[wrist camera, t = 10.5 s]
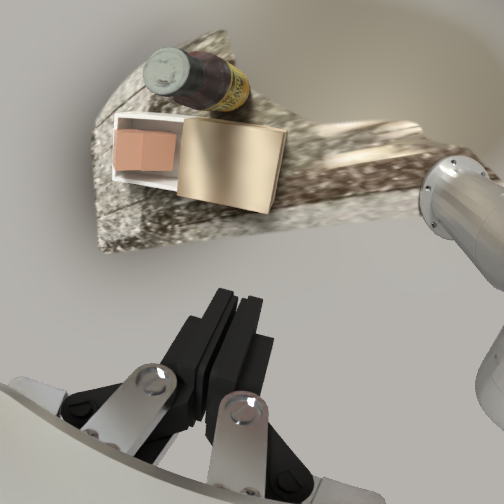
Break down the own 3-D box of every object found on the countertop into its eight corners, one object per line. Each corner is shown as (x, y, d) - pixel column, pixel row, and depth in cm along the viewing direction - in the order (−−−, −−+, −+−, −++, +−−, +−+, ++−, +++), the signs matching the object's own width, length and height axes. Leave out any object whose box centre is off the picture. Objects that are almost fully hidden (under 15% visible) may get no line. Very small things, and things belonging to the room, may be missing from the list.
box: (201, 116, 39) (188, 118, 36) (193, 184, 44) (181, 192, 40) (131, 111, 41) (114, 113, 37) (127, 173, 45) (112, 180, 41)
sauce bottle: (231, 120, 39) (164, 133, 22) (198, 92, 38) (113, 89, 20) (263, 85, 36) (218, 65, 19) (228, 57, 35) (160, 24, 18)
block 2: (143, 134, 36) (139, 130, 38) (140, 171, 38) (136, 164, 41) (176, 135, 38) (170, 131, 41) (172, 170, 40) (166, 164, 43)
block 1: (143, 133, 36) (117, 133, 34) (140, 169, 38) (115, 170, 36) (138, 129, 39) (114, 129, 37) (135, 162, 42) (112, 163, 40)
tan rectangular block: (287, 130, 38) (282, 133, 33) (274, 200, 43) (267, 214, 38) (201, 116, 39) (184, 118, 34) (193, 184, 44) (176, 195, 39)
